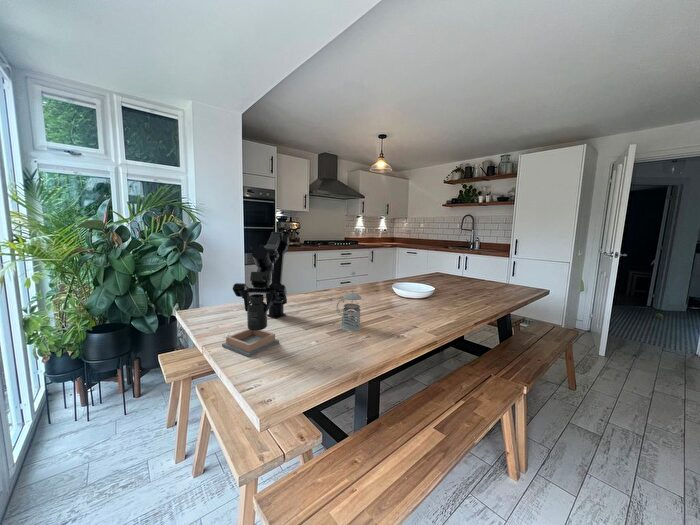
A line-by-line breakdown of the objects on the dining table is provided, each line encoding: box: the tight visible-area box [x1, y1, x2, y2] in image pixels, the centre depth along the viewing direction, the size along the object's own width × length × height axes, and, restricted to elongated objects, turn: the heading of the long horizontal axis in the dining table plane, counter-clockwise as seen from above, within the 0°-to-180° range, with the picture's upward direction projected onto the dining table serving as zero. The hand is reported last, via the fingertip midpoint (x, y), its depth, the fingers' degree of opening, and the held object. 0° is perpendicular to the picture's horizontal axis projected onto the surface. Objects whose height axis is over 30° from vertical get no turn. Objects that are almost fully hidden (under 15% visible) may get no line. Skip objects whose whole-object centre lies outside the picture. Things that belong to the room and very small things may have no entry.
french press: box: [336, 271, 363, 332], centre depth 124 cm, size 10×12×25 cm
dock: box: [221, 328, 280, 358], centre depth 104 cm, size 14×14×4 cm
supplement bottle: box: [246, 293, 268, 331], centre depth 103 cm, size 7×7×12 cm
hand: (255, 311), depth 101 cm, fingers closed on supplement bottle, 7 cm apart
